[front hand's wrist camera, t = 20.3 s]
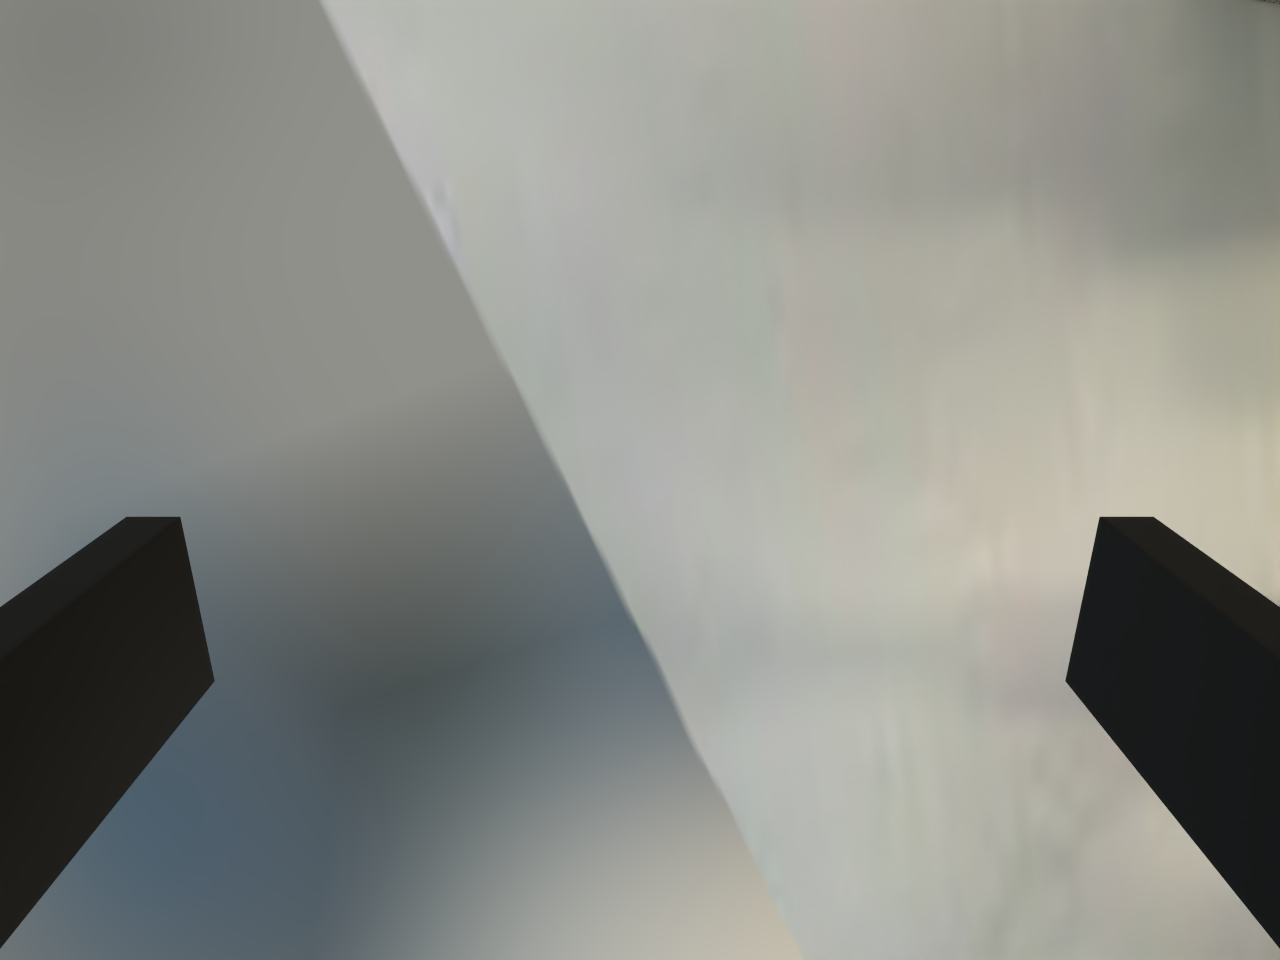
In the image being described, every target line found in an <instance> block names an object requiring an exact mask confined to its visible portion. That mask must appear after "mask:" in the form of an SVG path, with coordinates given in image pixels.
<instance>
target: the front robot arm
mask: <svg viewBox="0 0 1280 960" xmlns="http://www.w3.org/2000/svg"><path fill="white" fill-rule="evenodd" d="M1266 1H1270V2H1275V3H1280V0H1266ZM213 682H214V676H213V671H212V667H211V662H210V657H209V652H208V647H207V643H206V638H205V633H204V628H203V624H202V619H201V614H200V609H199V604H198V600H197V595H196V590H195V585H194V581H193V576H192V571H191V566H190V561H189V556H188V552H187V547H186V542H185V537H184V533H183V528H182V523H181V518H180V517H126V518H124V519H123V520H122V521H120V522H119V523H117V524H116V525H115V526H113V527H112V528H110V529H109V530H108V531H106V532H105V533H103V534H102V535H101V536H99V537H98V538H96V539H95V540H94V541H92V542H91V543H89V544H88V545H87V546H85V547H84V548H82V549H81V550H80V551H78V552H77V553H75V554H74V555H73V556H71V557H70V558H68V559H67V560H66V561H64V562H63V563H61V564H60V565H59V566H57V567H56V568H54V569H53V570H52V571H50V572H49V573H47V574H46V575H45V576H43V577H42V578H40V579H39V580H38V581H36V582H35V583H33V584H32V585H31V586H29V587H28V588H26V589H25V590H24V591H22V592H21V593H19V594H18V595H17V596H15V597H14V598H13V599H11V600H10V601H8V602H7V603H5V604H4V605H3V606H1V607H0V948H1V947H2V946H3V944H4V943H5V942H6V941H7V939H8V938H9V937H10V936H11V934H12V933H13V932H14V931H15V929H16V928H17V927H18V926H19V924H20V923H21V922H22V921H23V919H24V918H25V917H26V916H27V914H28V913H29V912H30V911H31V909H32V908H33V907H34V906H35V904H36V903H37V902H38V901H39V899H40V898H41V897H42V896H43V894H44V893H45V892H46V891H47V890H48V888H49V887H50V886H51V885H52V883H53V882H54V881H55V879H56V878H57V877H58V876H59V875H60V873H61V872H62V871H63V870H64V868H65V867H66V866H67V865H68V863H69V862H70V861H71V860H72V858H73V857H74V856H75V855H76V853H77V852H78V851H79V849H80V848H81V847H82V846H83V845H84V843H85V842H86V841H87V840H88V838H89V837H90V836H91V835H92V833H93V832H94V831H95V830H96V828H97V827H98V826H99V825H100V823H101V822H102V821H103V820H104V818H105V817H106V816H107V815H108V813H109V812H110V811H111V810H112V808H113V807H114V806H115V805H116V803H117V802H118V801H119V800H120V798H121V797H122V796H123V795H124V793H125V792H126V791H127V790H128V788H129V787H130V786H131V785H132V783H133V782H134V781H135V780H136V778H137V777H138V776H139V775H140V773H141V772H142V771H143V770H144V768H145V767H146V766H147V765H148V763H149V762H150V761H151V760H152V758H153V757H154V756H155V755H156V753H157V752H158V751H159V750H160V748H161V747H162V746H163V745H164V743H165V742H166V741H167V740H168V738H169V737H170V736H171V735H172V733H173V732H174V731H175V730H176V728H177V727H178V726H179V725H180V723H181V722H182V721H183V720H184V718H185V717H186V716H187V715H188V713H189V712H190V711H191V710H192V708H193V707H194V706H195V705H196V703H197V702H198V701H199V700H200V698H201V697H202V696H203V695H204V693H205V692H206V691H207V690H208V689H209V687H210V686H211V685H212V683H213ZM1066 682H1067V684H1068V685H1069V686H1070V687H1071V689H1072V690H1073V691H1074V692H1075V693H1076V695H1077V696H1078V697H1079V698H1080V700H1081V701H1082V702H1083V703H1084V705H1085V706H1086V707H1087V708H1088V710H1089V711H1090V712H1091V713H1092V715H1093V716H1094V717H1095V718H1096V720H1097V721H1098V722H1099V723H1100V725H1101V726H1102V727H1103V728H1104V730H1105V731H1106V732H1107V733H1108V735H1109V736H1110V737H1111V738H1112V740H1113V741H1114V742H1115V743H1116V745H1117V746H1118V747H1119V748H1120V750H1121V751H1122V752H1123V753H1124V755H1125V756H1126V757H1127V758H1128V760H1129V761H1130V762H1131V763H1132V765H1133V766H1134V767H1135V768H1136V770H1137V771H1138V772H1139V773H1140V775H1141V776H1142V777H1143V778H1144V780H1145V781H1146V782H1147V783H1148V785H1149V786H1150V787H1151V788H1152V790H1153V791H1154V792H1155V793H1156V795H1157V796H1158V797H1159V798H1160V800H1161V801H1162V802H1163V803H1164V805H1165V806H1166V807H1167V808H1168V810H1169V811H1170V812H1171V813H1172V815H1173V816H1174V817H1175V818H1176V820H1177V821H1178V822H1179V823H1180V825H1181V826H1182V827H1183V828H1184V830H1185V831H1186V832H1187V833H1188V835H1189V836H1190V837H1191V838H1192V840H1193V841H1194V842H1195V843H1196V845H1197V846H1198V847H1199V848H1200V850H1201V851H1202V852H1203V853H1204V855H1205V856H1206V857H1207V858H1208V860H1209V861H1210V862H1211V863H1212V865H1213V866H1214V867H1215V868H1216V870H1217V871H1218V872H1219V873H1220V875H1221V876H1222V877H1223V878H1224V880H1225V881H1226V882H1227V883H1228V885H1229V886H1230V887H1231V888H1232V890H1233V891H1234V892H1235V893H1236V894H1237V896H1238V897H1239V898H1240V899H1241V901H1242V902H1243V903H1244V904H1245V906H1246V907H1247V908H1248V909H1249V911H1250V912H1251V913H1252V914H1253V916H1254V917H1255V918H1256V919H1257V921H1258V922H1259V923H1260V924H1261V926H1262V927H1263V928H1264V929H1265V931H1266V932H1267V933H1268V934H1269V936H1270V937H1271V938H1272V939H1273V941H1274V942H1275V943H1276V944H1277V946H1278V947H1279V948H1280V607H1279V606H1277V605H1276V604H1275V603H1273V602H1272V601H1270V600H1269V599H1268V598H1266V597H1265V596H1263V595H1262V594H1261V593H1259V592H1258V591H1256V590H1255V589H1254V588H1252V587H1251V586H1249V585H1248V584H1247V583H1245V582H1244V581H1242V580H1241V579H1240V578H1238V577H1237V576H1235V575H1234V574H1233V573H1231V572H1230V571H1228V570H1227V569H1226V568H1224V567H1223V566H1221V565H1220V564H1219V563H1217V562H1216V561H1214V560H1213V559H1212V558H1210V557H1209V556H1207V555H1206V554H1205V553H1203V552H1202V551H1200V550H1199V549H1198V548H1196V547H1195V546H1193V545H1192V544H1191V543H1189V542H1188V541H1186V540H1185V539H1184V538H1182V537H1181V536H1179V535H1178V534H1177V533H1175V532H1174V531H1172V530H1171V529H1170V528H1168V527H1167V526H1165V525H1164V524H1163V523H1161V522H1160V521H1158V520H1157V519H1156V518H1154V517H1100V518H1099V523H1098V528H1097V532H1096V537H1095V542H1094V547H1093V552H1092V556H1091V561H1090V566H1089V571H1088V576H1087V580H1086V585H1085V590H1084V595H1083V600H1082V604H1081V609H1080V614H1079V619H1078V623H1077V628H1076V633H1075V638H1074V643H1073V647H1072V652H1071V657H1070V662H1069V667H1068V671H1067V676H1066Z"/></svg>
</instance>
